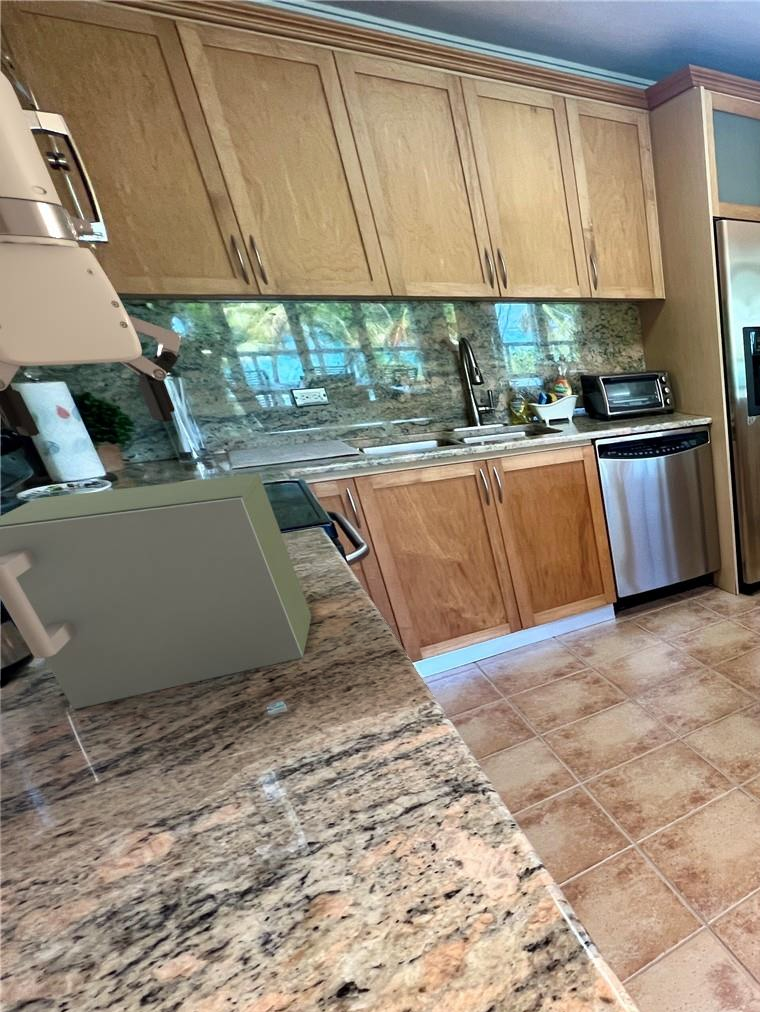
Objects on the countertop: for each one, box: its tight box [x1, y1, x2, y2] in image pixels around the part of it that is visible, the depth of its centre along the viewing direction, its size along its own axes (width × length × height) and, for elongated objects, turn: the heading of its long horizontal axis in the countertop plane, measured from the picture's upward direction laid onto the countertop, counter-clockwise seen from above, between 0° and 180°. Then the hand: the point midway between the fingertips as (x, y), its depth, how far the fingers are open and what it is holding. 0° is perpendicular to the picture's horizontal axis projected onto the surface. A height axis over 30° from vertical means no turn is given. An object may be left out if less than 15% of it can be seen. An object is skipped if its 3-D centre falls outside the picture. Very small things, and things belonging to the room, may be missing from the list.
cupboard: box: [0, 473, 312, 656], centre depth 81 cm, size 15×22×22 cm
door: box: [0, 497, 304, 710], centre depth 72 cm, size 7×22×21 cm, turn 122°
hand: (100, 427), depth 63 cm, fingers open, 9 cm apart
